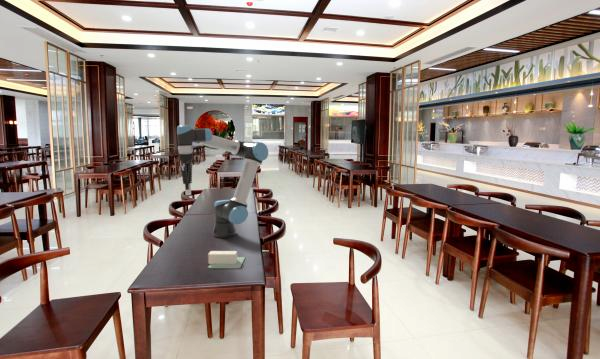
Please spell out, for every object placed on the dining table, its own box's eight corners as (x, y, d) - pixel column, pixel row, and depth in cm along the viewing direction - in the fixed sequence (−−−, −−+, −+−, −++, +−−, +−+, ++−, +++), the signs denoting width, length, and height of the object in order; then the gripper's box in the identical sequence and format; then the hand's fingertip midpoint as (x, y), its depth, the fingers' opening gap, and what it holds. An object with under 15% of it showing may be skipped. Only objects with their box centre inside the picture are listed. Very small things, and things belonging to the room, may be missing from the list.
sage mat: (215, 258, 187) (215, 257, 186) (244, 258, 186) (244, 257, 186) (208, 268, 173) (207, 267, 173) (240, 268, 172) (239, 267, 172)
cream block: (210, 250, 181) (237, 251, 181) (210, 260, 182) (237, 260, 182) (207, 254, 176) (235, 254, 176) (208, 263, 177) (235, 263, 177)
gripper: (183, 152, 199) (185, 192, 203) (174, 154, 186) (177, 197, 190) (196, 152, 199) (198, 192, 203) (188, 154, 186) (191, 197, 190)
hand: (188, 194), depth 196 cm, fingers closed
